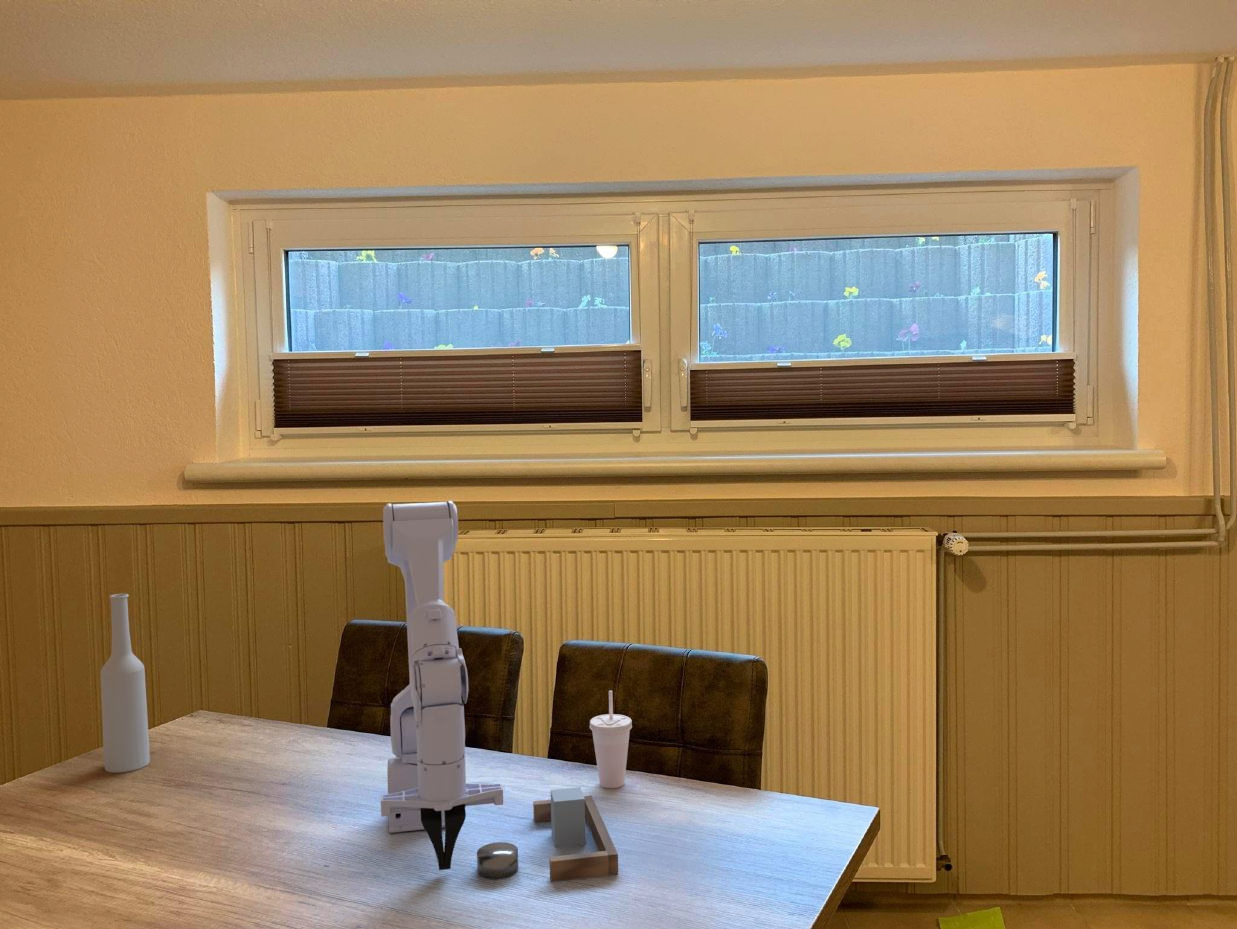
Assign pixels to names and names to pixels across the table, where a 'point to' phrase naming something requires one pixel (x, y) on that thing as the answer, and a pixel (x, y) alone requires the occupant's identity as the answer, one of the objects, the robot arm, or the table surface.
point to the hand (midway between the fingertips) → (444, 865)
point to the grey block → (568, 817)
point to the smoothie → (611, 746)
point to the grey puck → (497, 860)
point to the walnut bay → (585, 862)
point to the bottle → (123, 699)
